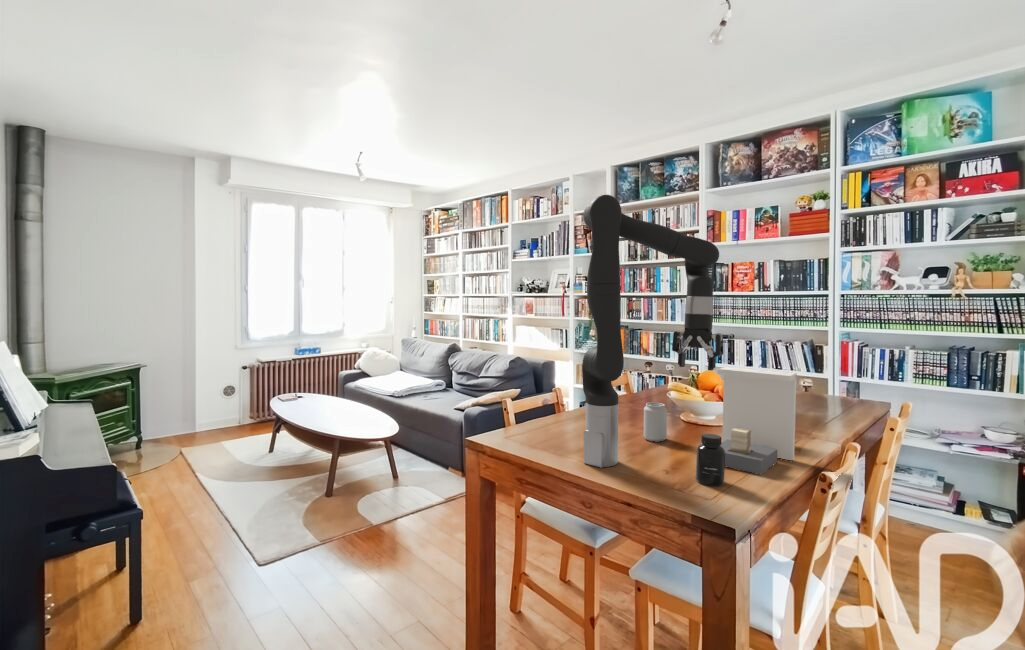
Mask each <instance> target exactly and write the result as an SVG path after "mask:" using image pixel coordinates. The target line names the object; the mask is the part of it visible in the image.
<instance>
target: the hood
mask: <svg viewBox="0 0 1025 650" xmlns="http://www.w3.org/2000/svg"><path fill="white" fill-rule="evenodd" d="M717 375H723V392H722V393H723V396H722V397H723V398H722V399H723V400H722V402H723V403H722V440H721V442H724V441H726V440H727V439H728V440H731V430H732V429H734V428H736V427H737V428H743V429H749V430H751V444H754V445H759V446H765V447H770V448H775V449H777V458H783V459H788V460H794V461H795V445H796V443H795V439H796V437H795V436H796V410H797V409H796V405H797V401H796V400H797V375H798V374H797V372H788V371H787V372H786V371H775V370H765V369H753V368H742V367H731V366H724V367H721V368H717Z"/></svg>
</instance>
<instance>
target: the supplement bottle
mask: <svg viewBox="0 0 1025 650" xmlns="http://www.w3.org/2000/svg"><path fill="white" fill-rule="evenodd" d="M700 438H701V439H700V443H701V444H699V445H698V446H697V447H696V461H695V462H696V463H695V479H696V481H697V483H700V484H701V485H704V486H709V487H720V485H721V486H723V485H724V484H725V472H726V471H725V470H726V467H725V450H724V448H723V447H721V446H720V445H721V444H722V439H723V437H722V435H721V436H720V435H718V434H716V433H715V434H714V433H703V434H701V437H700Z"/></svg>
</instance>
